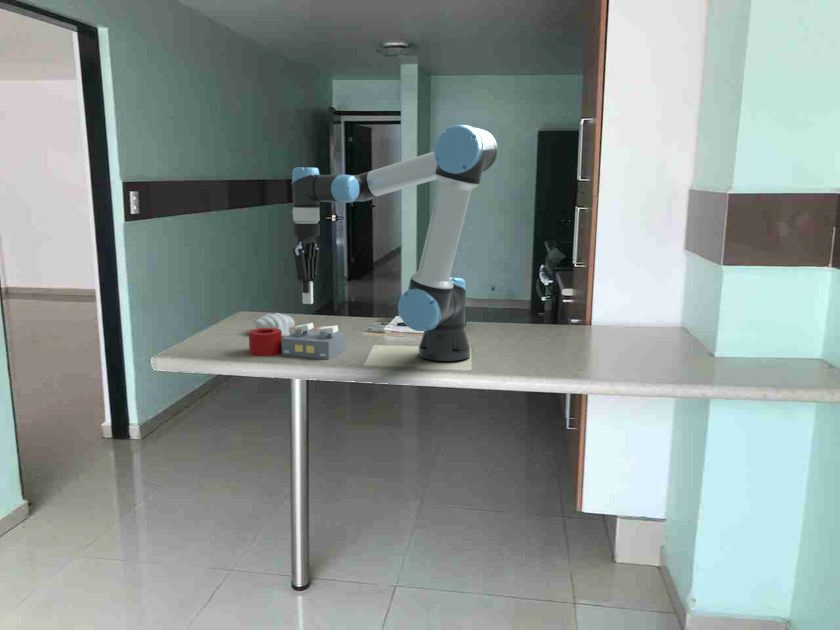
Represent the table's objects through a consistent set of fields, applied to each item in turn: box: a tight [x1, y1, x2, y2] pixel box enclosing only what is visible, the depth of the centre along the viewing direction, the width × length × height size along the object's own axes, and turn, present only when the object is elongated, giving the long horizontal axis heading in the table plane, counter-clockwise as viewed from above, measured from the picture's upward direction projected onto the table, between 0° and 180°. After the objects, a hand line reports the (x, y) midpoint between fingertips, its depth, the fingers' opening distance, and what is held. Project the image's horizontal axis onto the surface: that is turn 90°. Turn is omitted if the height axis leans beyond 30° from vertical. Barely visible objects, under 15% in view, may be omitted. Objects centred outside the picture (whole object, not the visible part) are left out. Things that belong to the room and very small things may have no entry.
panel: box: [281, 329, 347, 360], centre depth 199 cm, size 15×12×7 cm
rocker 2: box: [313, 324, 339, 335], centre depth 198 cm, size 6×4×2 cm, turn 72°
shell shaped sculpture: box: [254, 312, 296, 337], centre depth 223 cm, size 13×13×6 cm
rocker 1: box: [289, 322, 315, 334], centre depth 200 cm, size 6×4×2 cm, turn 72°
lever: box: [248, 328, 283, 357], centre depth 203 cm, size 18×9×7 cm, turn 159°
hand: (307, 303), depth 198 cm, fingers closed
